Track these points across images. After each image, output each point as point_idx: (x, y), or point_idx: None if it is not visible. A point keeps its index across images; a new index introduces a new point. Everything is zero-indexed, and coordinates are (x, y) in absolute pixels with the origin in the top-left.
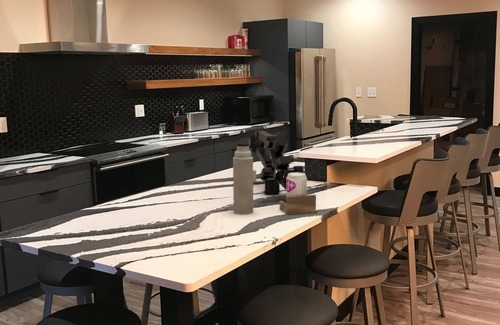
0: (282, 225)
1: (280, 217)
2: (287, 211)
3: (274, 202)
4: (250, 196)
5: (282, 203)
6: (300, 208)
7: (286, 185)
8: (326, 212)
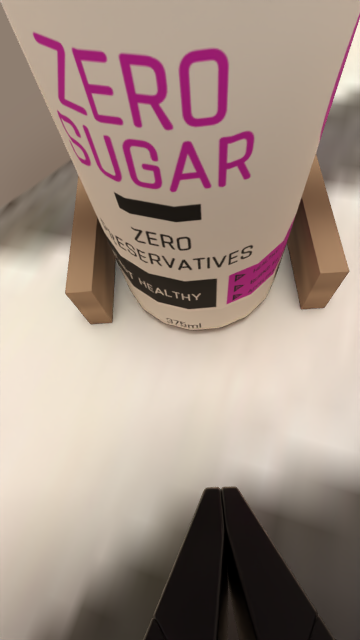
0: (353, 48)
1: (345, 146)
2: None
3: (337, 582)
4: None
5: (329, 209)
6: None
7: (336, 87)
8: (44, 188)
